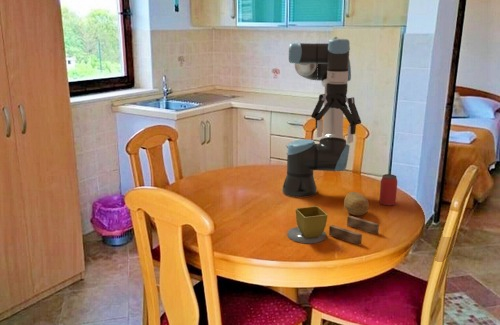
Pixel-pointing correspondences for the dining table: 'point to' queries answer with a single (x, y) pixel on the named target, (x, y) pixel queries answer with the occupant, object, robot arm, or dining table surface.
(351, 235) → the wooden blocks
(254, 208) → the dining table surface
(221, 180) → the dining table surface
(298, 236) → the grey round disc
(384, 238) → the dining table surface
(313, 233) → the flower pot
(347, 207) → the potato
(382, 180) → the beer can
